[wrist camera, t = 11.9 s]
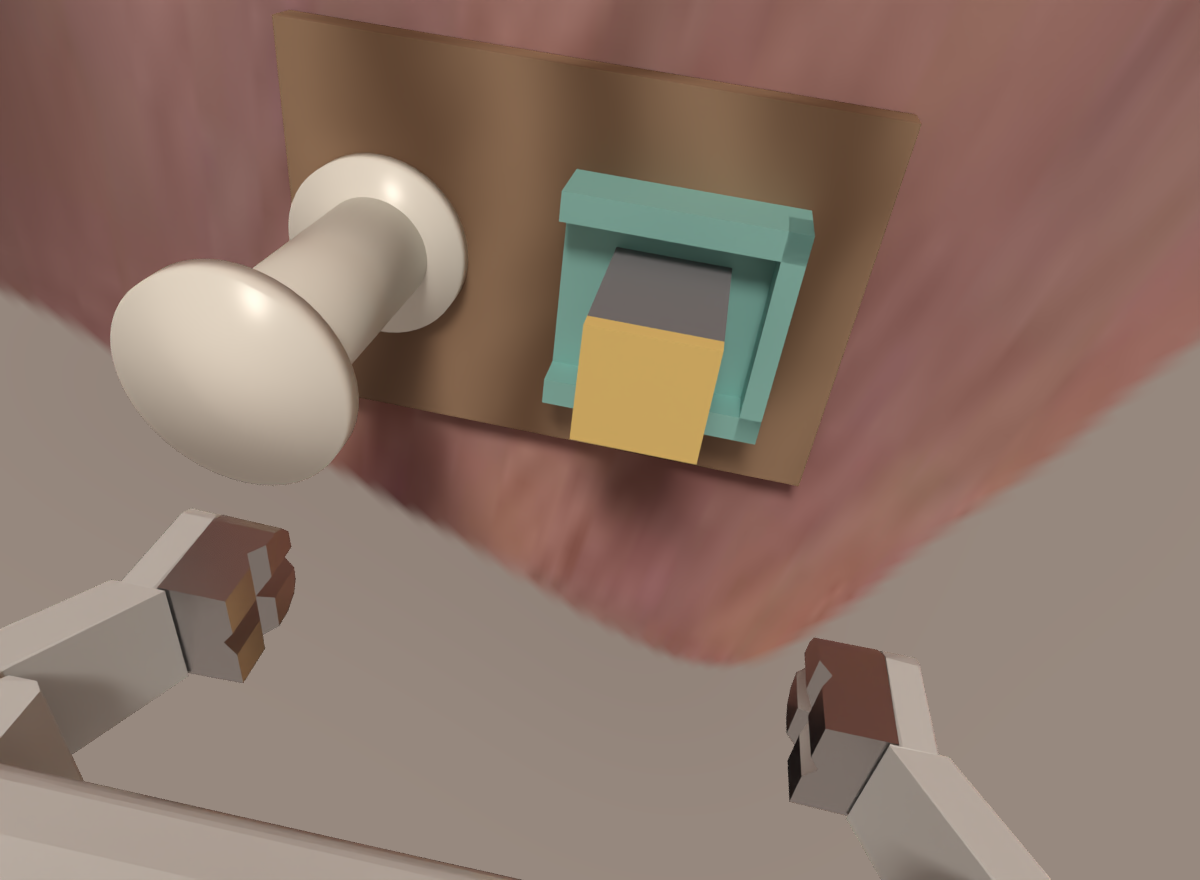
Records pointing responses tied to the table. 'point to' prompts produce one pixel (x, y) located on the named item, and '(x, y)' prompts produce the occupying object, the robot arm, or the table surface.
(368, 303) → the bobbin
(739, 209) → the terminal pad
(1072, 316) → the table surface
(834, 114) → the board
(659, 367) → the yellow and grey block
